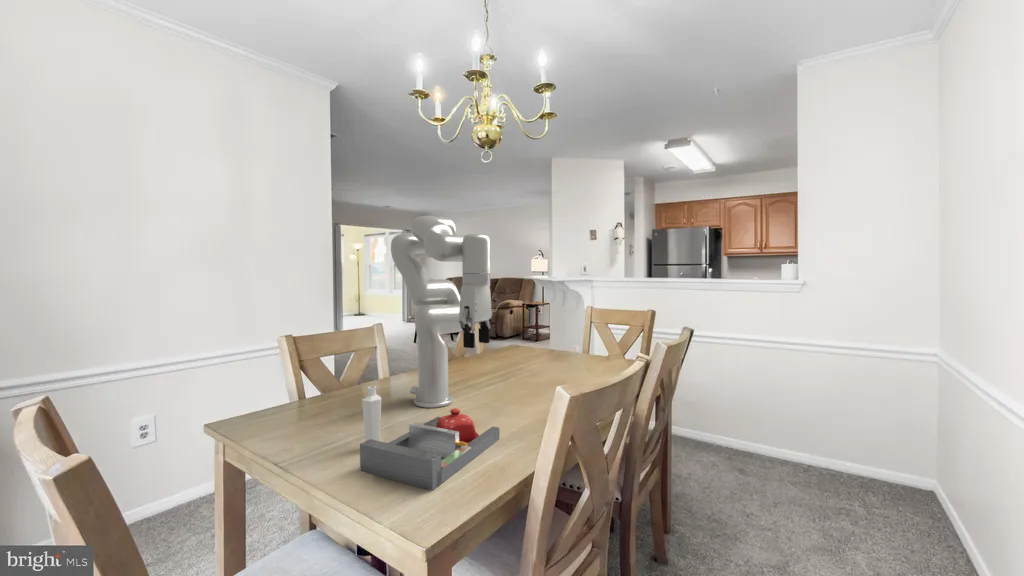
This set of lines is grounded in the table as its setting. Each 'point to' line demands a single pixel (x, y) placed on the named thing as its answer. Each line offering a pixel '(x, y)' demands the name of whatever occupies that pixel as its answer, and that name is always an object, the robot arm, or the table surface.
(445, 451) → the brushed metal plate
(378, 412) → the perfume bottle
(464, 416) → the butter dish
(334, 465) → the table surface
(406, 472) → the grey open box
